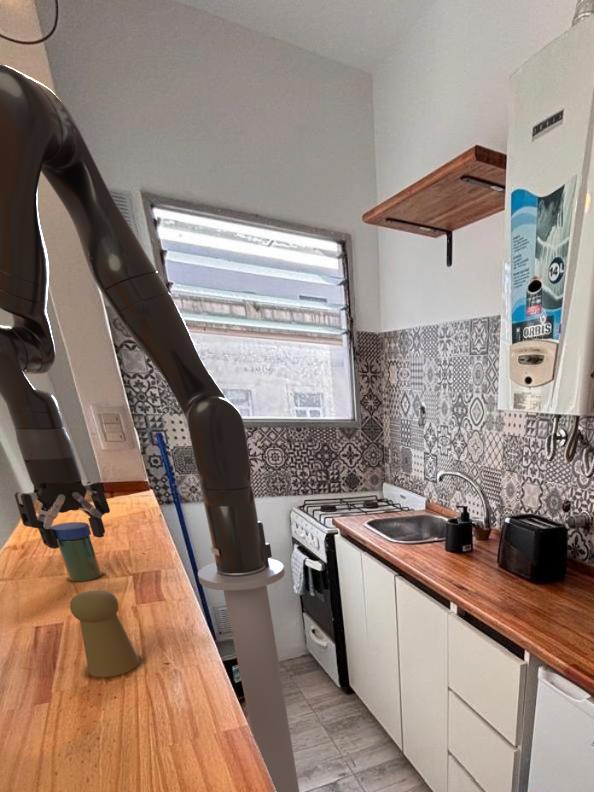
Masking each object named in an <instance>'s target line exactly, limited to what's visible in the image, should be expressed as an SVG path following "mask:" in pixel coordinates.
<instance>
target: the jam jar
mask: <svg viewBox="0 0 594 792" xmlns="http://www.w3.org/2000/svg"><path fill="white" fill-rule="evenodd" d="M57 542H58V545H59V548H58V549H59V552H60V555H61V559H62V561H63V563H64V566H65V569H66V572H67V575H68V578H69V581H72V582H88V581H91V580H92V581H93V580H96V579H98V578H100V577H102V570H101V567H100V564H99V561H98V558H97V555H96V551H95V548H94V545H93V541H92V539H91V535H89V536H86V537H83V538H78V539H69V540H60V539H57Z"/></svg>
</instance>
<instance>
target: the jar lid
mask: <svg viewBox="0 0 594 792" xmlns="http://www.w3.org/2000/svg"><path fill="white" fill-rule="evenodd" d="M89 525H90V524H89V523H88V522H83V521H82V522H81V521H73V522H64V523H57V524H54V525H51V528H52V529H53V530H54V533H55V536H56V539H60V540H69V539H78V538H83V537H86V536H91V534H92V531H91V528H90V526H89Z"/></svg>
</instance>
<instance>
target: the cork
mask: <svg viewBox="0 0 594 792" xmlns="http://www.w3.org/2000/svg"><path fill="white" fill-rule="evenodd" d="M69 609H70V612H71V614H72V615H73V617H74V618H75V619H76V620H78V621H79V622H80V623H79V624H80V628H81V629H80V630H81V634H82V640H83V648H84V653H85V659H86V665H87V671H88V674H89V675H90V676H92V677H94V678H110V677H114V676H115V677H116V676H120V675H122V674H126V673H128V672H130V671H133V670H134V669H135V668H136V667H138V666H139V664H140V658H139V656H138V654H137V652H136V650H135V648H134V646H133V644H132V642H131V639H130V638H129V636H128V634H127V632H126V630H125V628H124V626H123V623H122V622H121V620H120V617H119V616H118V612H119V601H118V598H117V597H116V596H115V595H114V593H112V592H111V591H108V590H104V589H95V590H88V591H84V592H81V593H78V594H76V595H74V596H73V597H72V598H71V599H70V602H69Z"/></svg>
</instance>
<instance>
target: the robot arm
mask: <svg viewBox="0 0 594 792" xmlns="http://www.w3.org/2000/svg"><path fill="white" fill-rule="evenodd" d="M80 130H81V129H79V126H78V125H77V122H76V120H75V118H74V117H73V115H72V114H71V112H70V110H69V109H68V107H67V106H66V105H65V103H64V102H63V101H62V100H61V98H59V97H58V96H57V94H56V93H54V92H53V91H52V90H51V89H50V88H49V87H47V86H46V85H44V84H43V83H41V82H40V81H37V80H35V79H34V78H32V77H30V76H29V75H26V74H25V73H23V72H21V71H18V70H16V69H15V68H13V67H10V66H8V65H5V64H1V63H0V310H2V311H4V312H6V313H9V314H11V316H12V320H13V325H7V324H0V396H1V398H2V399H3V401H4V402H5V404H6V407H7V411H8V414H9V416H10V420H11V423H12V425H13V428H14V430H15V437H16V442H17V445H18V448H19V451H20V454H21V456H22V459H23V462H24V466H25V468H26V472H27V475H28V476H29V480H30V483H32V485H33V492H19V491H18V492H15V494H14V498H15V502H16V505H17V508H18V512H19V515H20V519H21V522H22V525H23V526H24V527H28V528H32V529H37V530H38V531H39V535H40V537H41V540H42V543H43V545H45V546H46V547H48V548H50V549H53V550H54V549H59V545H58V542H57V539H56V536H55V533H54V530H53V529H52V528H51V527H52V526H53V523H54V520H55V519H57V518H58V516H59V514H63V513H64V514H65V513H67V512H71V511H79V510H80V511H81V512H83V513H84V514H85V515H87V516H88V517H89V518H87V519H88V524H89V525H90V526H89V527H90V530H91V533H92V535H93V537H96V538H98V539H100V538H104V537H105V534H106V529H105V526H104V522H103V518H102V517H103V516H105V515H106V514H109V513H110V512H111V509H110V506H109V502H108V500H107V497H106V495H105V491H104V489H103V486H102V484H101V483H100V482H95V481H87V482H86V483H85V484H84V483H83V481H82V474H81V470H80V467H79V464H78V461H77V458H76V454H75V451H74V447H73V445H72V441H71V439H70V436H69V434H68V432H67V429H66V427H65V423H64V420H63V417H62V414H61V411H60V407H59V404H58V401H57V399H56V397H55V396H54V395H53V394H52V393H50V392H48V391H46V390H43V389H37V388H35V387H34V385H32V384H31V382H30V381H29V379H28V377H27V376H26V375H43V374H46V373H48V372H49V371H51V369H52V368H53V366H54V364H55V361H56V347H55V341H54V338H53V334H52V329H51V328H52V327H51V324H50V320H49V316H48V312H47V307H48V306H47V305H48V294H49V279H50V265H49V257H48V253H47V252H48V251H47V247H46V243H45V239H44V238H45V237H44V235H43V230H42V227H41V221H40V215H39V208H38V205H39V204H38V192H39V191H38V190H39V181H40V177H41V174H42V176H44V178H45V179H46V181H47V183H49V185H50V186H51V188H52V189H53V191H54V192H55V194H56V195H57V197H58V199H59V201H60V202H61V203H62V205H63V207H64V208H65V210H66V212H67V213H68V215H69V217H70V219H71V221H72V223H73V225H74V228H75V230H76V233H77V236H78V239H79V242H80V245H81V249H82V252H83V256H84V258H85V261H86V264H87V266H88V269H89V272H90V274H91V276H92V278H93V280H94V283H95V284H96V285H97V287H98V289H99V291H100V293H102V295H103V297H104V298H105V300H106V301H107V303H108V304H109V306H110V308H111V309H112V311H113V313H114V314H115V316H116V317H117V319H118V320H119V321H120V323H121V325H122V326H123V327H124V329H125V330H126V332H128V334H129V336H131V338H132V340H133V341H134V342H135V343H136V344H137V346H138V347H139V348H140V350H141V352H143V354H145V356H146V357H147V358H148V359H149V361H150V362H151V363H152V364H153V366H154V367H155V368H156V369H157V370H158V372H159V373H160V375H161V376H162V378H163V379H164V381H165V382H166V384H167V385H168V388H169V389H170V391H171V393H172V394H173V396H174V398H175V399H176V400H175V401H176V402H177V404H178V405H179V408H180V409H181V412H182V414H183V415H184V418H185V421H186V422H187V427H188V433H189V437H190V443H191V448H192V452H193V457H194V461H195V468H196V472H197V477H198V481H199V486H200V490H201V491H200V492H201V496H202V502H203V506H204V510H205V515H206V519H207V520H206V521H207V526H208V530H209V535H210V541H211V546H210V549H211V550H210V551H211V553H212V554H213V556H214V560H215V561H214V562H216V566H217V572H218V573H219V574H220V575H224V576H230V577H239V576H248V575H253V574H257V573H259V572H262V571H263V570H265V568H266V567H269V561H268V558H270V559H271V558H272V557H273V555H272V549H271V548H272V547H271V544H270V543H268V542H266V535H265V531H264V524H263V522H262V521H259V519H258V518H259V517H258V512H257V506H256V499H255V493H254V487H253V481H252V469H251V461H250V460H251V459H250V453H249V447H248V440H247V433H246V427H245V421H244V419H243V416H242V414H241V413H240V411H239V410H238V408H237V407H236V406H235V405H234V404H233V403H232V402H230V401H229V399H228V398H227V397H226V395H225V394H224V393H223V391H222V390H221V389H220V387H219V385H218V384H217V383H216V381H215V379H214V378H213V376H212V375H211V374H210V372H209V371H208V369H207V367H206V366H205V364H204V362H203V361H202V359H201V357H200V354H199V353H198V350H197V348H196V346H195V343H194V340H193V338H192V336H191V334H190V331H189V329H188V327H187V325H186V322H185V320H184V318H183V317H182V314H181V312H180V310H179V308H178V306H177V304H176V302H175V300H174V298H173V297H172V294H171V293H170V291H169V289H168V288H167V286H166V284H165V282H164V281H163V279H162V277H161V276H160V274H159V272H158V271H157V269H156V267H155V266H154V264H153V262H152V260H150V257H149V256H148V254H147V253H146V251H145V249H144V248H143V245H142V244H141V242H140V241H139V239H138V237H137V235H136V234H135V232H134V230H133V229H132V227H131V225H130V224H129V222H128V220H127V219H126V218H125V215H124V214H123V212H122V211H121V209H120V208H119V206H118V204H117V203H116V201H115V199H114V197H113V195H112V194H111V192H110V190H109V188H108V185H107V184H106V182H105V180H104V178H103V176H102V173H101V172H100V170H99V168H98V166H97V164H96V161H95V159H94V158H93V157H94V156H92V155H93V154H91V151H90V149H89V147H88V145H87V142H86V141H85V139H84V136H83V134H82V132H81V131H80ZM87 494H89V495H90V499H91V500H92V503H93V504H92V503H91V502H90V501H88V500H87V499H86V498H85V497H86V495H87ZM36 500H37V501H38V502H40V506H39V507H38V510H37V512H36V509H35V505H36ZM37 514H38V515H37Z"/></svg>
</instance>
